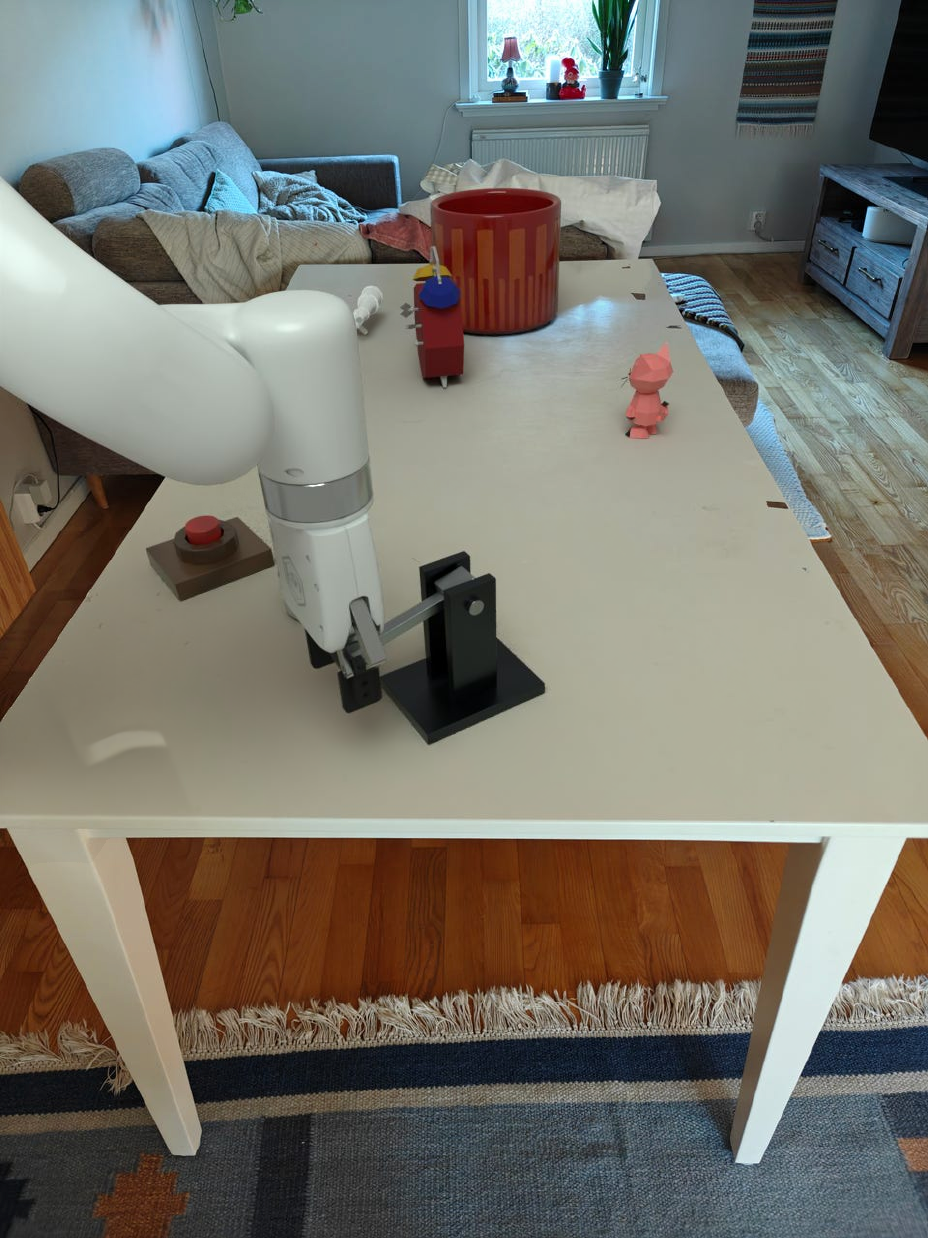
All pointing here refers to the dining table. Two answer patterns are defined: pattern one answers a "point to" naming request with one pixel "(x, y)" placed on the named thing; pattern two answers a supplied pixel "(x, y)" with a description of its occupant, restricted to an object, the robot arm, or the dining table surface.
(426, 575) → the bracket
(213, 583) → the button block
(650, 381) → the cat figurine
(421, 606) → the lever
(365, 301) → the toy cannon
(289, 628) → the dining table surface
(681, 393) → the dining table surface
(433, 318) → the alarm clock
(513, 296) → the planter
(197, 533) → the button
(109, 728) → the dining table surface
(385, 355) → the dining table surface
